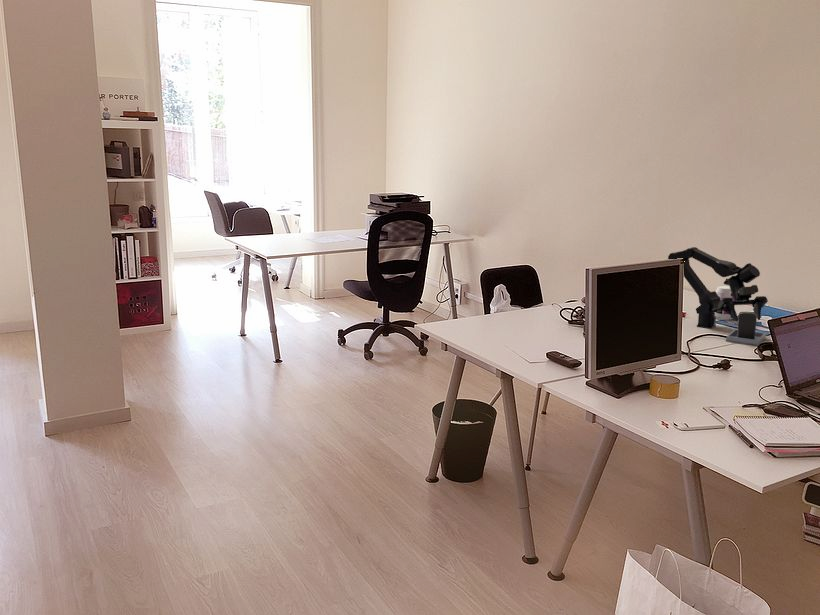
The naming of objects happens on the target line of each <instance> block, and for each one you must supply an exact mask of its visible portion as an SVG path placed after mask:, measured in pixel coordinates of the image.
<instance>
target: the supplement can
mask: <svg viewBox="0 0 820 615" xmlns="http://www.w3.org/2000/svg"><path fill="white" fill-rule="evenodd" d="M715 292H716V293H717V295H718V296H719V297H720V300H722V298H732V300H733V301H734V299H733V296H731V295H730V294H731V290H730V286H729V285H718V286H717V288H716V290H715ZM735 306H736V305H734V308H736V307H735ZM714 313H715V316H716V320H719V321H730V320H729V319H732V320H733V319H734V318H732V317H731V316H730V315H729V314H728V313H727V312H725V311H723V310H720V309H718V311H717V312H714Z"/></svg>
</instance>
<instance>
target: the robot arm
mask: <svg viewBox="0 0 820 615" xmlns="http://www.w3.org/2000/svg"><path fill="white" fill-rule="evenodd" d="M677 258H683V259H684V261H685V262H684V276H683V277H684V279H685V280H686V281H687V283H688V284H689V285H690V287H691V288H692V289H693V291H694V292H695V293H696V295H697V297H698V302H699V304H700V305H699V306H698V307H696V308H695V311H696V314H698V317H697V318H698V320H697V324H696V327H697V328H699V327H700V328H706V329H713V328H714V327H715V326H716V324H717V319H716V316H715V312H717V311H718V309H720V310H723V311H725V312H727V313H728V314H729V315H730V316H731V317H732V318H733V319H734V320H735V321H736V322H738V314H737V312H736V311H737V310H736V309H735V308H736V307H734V305H735V306H745V305H746V306H747V305H751V306H752V310H753V313H755V314H756V316H757V320H758V321H760V320H761V315H762V308H764V307H765V306H766V305H767V303H768V302H769V301H768V297H767V296H765V295H760V296H759V295H758V296H757V295H755V294H757V293H759V288H758V285H757V284H752V285H750V286H745V283H746V284H749V283H751V282H752V281H754V280H755V279H758V278H759V277H760V276H761V272H760V270H759V269H758V268H757V267H756V266H755V265H753V264H752V263H746V264H744V266H743V267H741V266H737V264H736V263H734V262H732V261H729V260H723V259H719V258H717V257H715V256H714V255H713V256H712V255H711V254H709V253H707V252H705V251H703V250H701V249H699V248H698V247H696V246H695V247H694V246H693V247H688V248H687V249H684V250H681V251H675V252H671V253H669V255H668V258H667V260H668V259H677ZM691 258H692V259H694V260H696V261H698V262H700V263H701V264H703V265H706V266H707V267H710V268H711V269H712V270H713V271H714V273H716V274H717V275H718V276H720V277H722V278H726V279H725V280H724V281H723V285H725V286H730V290H731V294H730V295H731V296H733V299H734V301H733V300H732V298H722V300H720V297H719V296H718V295H717V293H716V290H714V291H710V290H709V289H708V288H707V287H706V285H705V284H704V283H703V281H702V280H701V278H700V277H699V276H698V275H697V273H696V272H695V270H694V269H693V268H692V266H691V265H690V259H691ZM727 277H729V278H727ZM753 295H755V296H756V297H755V298H754V299H751V298H752V296H753Z"/></svg>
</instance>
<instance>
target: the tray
mask: <svg viewBox="0 0 820 615" xmlns="http://www.w3.org/2000/svg"><path fill="white" fill-rule="evenodd" d="M737 333H738V328H736V329H735V328H734V329H733V330H732V331H731V332H730V333H728V334H727V335H726V338H725V342H729V343H736V344H744V345H749V346H750V345H751V346H755V347H756V346H757V347H759V346H760V345H761V343H762V342H763V341H765V340H766V338H767V336H766V335H767V333H766V332H759V331H755V339H746V338H739V337H737Z"/></svg>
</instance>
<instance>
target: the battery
mask: <svg viewBox="0 0 820 615" xmlns="http://www.w3.org/2000/svg"><path fill="white" fill-rule="evenodd" d="M737 317H738V321H737V330H738V333H737V337H739V338H746V339H755V332H756V329H757V320H758V319H757V316H756V314H755V313H754V311H753V312H752V311H741V312H739V313H738V314H737Z"/></svg>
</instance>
